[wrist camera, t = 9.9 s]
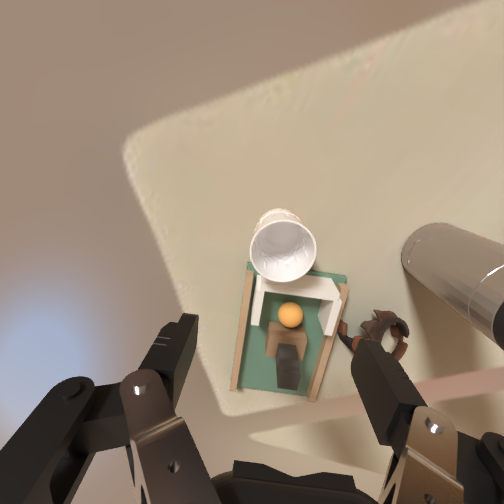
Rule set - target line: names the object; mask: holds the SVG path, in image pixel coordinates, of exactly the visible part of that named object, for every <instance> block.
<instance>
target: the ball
mask: <svg viewBox="0 0 504 504" xmlns="http://www.w3.org/2000/svg"><path fill="white" fill-rule="evenodd" d="M278 318H279V321H280V322H281V323H282V324H283V325H284V326H286V327H290V328H292V327H296V326H298V325H299V324H300V323H301V321H302V319H303V312H302V309H301V307H300V306H299V305H298V304H296V303H294V302H287V303H284V304H283V305H282V306H281V307H280V308H279V311H278Z"/></svg>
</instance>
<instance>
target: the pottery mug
mask: <svg viewBox="0 0 504 504" xmlns="http://www.w3.org/2000/svg"><path fill="white" fill-rule="evenodd" d="M373 311H374V312H375V314H376V315H377V318H378V320H379V321H376V320H371V321H364V322H363V323H362V324H361V325H360V326H361V327H362V328H363V329H365V330H366V332H367V333H368V335H369V337H370V338H371V339H374V340H378V341H379V342H380V344H381V341H382V337H383V334H384V332H385V330H386V329H387V327H388V326H390V325H391V324H393V323H396V325H392V326H391V334H392V335H393V336H395V337H397V338H398V339H399V340H398V343H397V346H396V348H395V350H394V351H393V352H392V354H391V355H392V356H393V357H394V358H395V359H397V360H400V359H401V358H402V356H403V355H404V353H405V352H406V349H407V347H408V344H406V343H404V342H403V336H405V337H406V338H408V336H409V329H408V326H407V324H406V322H405V321H404V320H402V319H400V318H398V317H397V315H396V314H395V313H393V312H391V311H379V310H373ZM347 326H348V325H347V323H345V322H343V321H341V320H340V321H339V325H338V328H337V329H338V335H339V337H340V339H341V340H342V341H343V342H344V343H345V344H346V345H347V346H348V348H349V349H351V350H352V352H353V353H355V350H356V347H357V344H358V342H359V340H360V338H363V337H361V336H355V337H354V338H353V339H352V338H350V337H348V336H347Z"/></svg>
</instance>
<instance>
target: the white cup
mask: <svg viewBox="0 0 504 504" xmlns="http://www.w3.org/2000/svg"><path fill="white" fill-rule="evenodd" d="M316 253H317V247H316V242H315V239H314V237H313V235H312V234H311V232H310V231H309V230H308V229H307V228H306V226H305V225H304V224H303V223H302V221H301V220H300V219H299V218H298V217H297V216H296V215H294V214H293V213H291V212H290V211H289V210H286V209H280V208H276V209H273V210H270V211H267V212H266V213H265V214H264V215H263V216H262V217H261V218H260V220H259V222H258V224H257V226H256V228H255V231H254V234H253V238H252V241H251V245H250V259H251V262H252V265H253V267H254V268H255V270H256V271H257V272H258V273H259V274H260V275H261V276H263V277H264V278H266V279H268V280H271V281H274V282H290V281H294V280H296V279H299V278H300V277H302V276H303V275H305V274H306V273H307V272H308V271H309V270H310V268H311V267H312V265H313V264H314V261H315V258H316Z"/></svg>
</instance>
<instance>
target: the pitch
mask: <svg viewBox="0 0 504 504" xmlns="http://www.w3.org/2000/svg"><path fill="white" fill-rule="evenodd" d="M346 280H347V278H346V276H345V275H339V274H331V273H324V272H317V271H310V270H309V271H308V272H307V273H306V274H305V275H303V276H302V277H300V278H299V279H296V280H294V281H290V282H274V281H271V280H268V279H266V278H264V277H263V276H261V275H260V274H259V273H258V272H257V271H256V270H255V268H254V267H253V265H252V262H248V263H247V270H246V277H245V284H244V291H243V298H242V305H241V312H240V319H239V327H238V334H237V341H236V348H235V355H234V362H233V370H232V377H231V384H230V391H234V392H236V388H237V387H242V388H249V389H257V390H264V391H271V392H279V393H286V394H293V395H301V396H307V397H308V402H315V400H316V397H317V393H318V390H319V387H320V384H321V380H322V377H323V374H324V370H325V367H326V364H327V361H328V357H329V354H330V351H331V348H332V344H333V341H334V338H335V334H336V331H337V328H338V325H339V321H340V318H341V315H342V312H343V308H344V305H345V302H346V298H347V295H348V292H349V289H348V287H347V286H346V284H345V283H346ZM287 302H294V303H296V304H298V305H299V306H300V307H301V309H302V312H303V319H302V321H301V323H300V324H299V325H304V329H305V333H306V337H307V344H306V348H305V352H304V356H303V360H302V361H299V366H300V372H301V378H300V382H299V386H298V389H297V391H295V390H288V389H281V388H277V374H276V357H270V356H266V350H265V339H266V333H267V328H268V323H269V321H276V322H280V321H279V318H278V311H279V308H280V307H281V306H282V305H283V304H284V303H287Z"/></svg>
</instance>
